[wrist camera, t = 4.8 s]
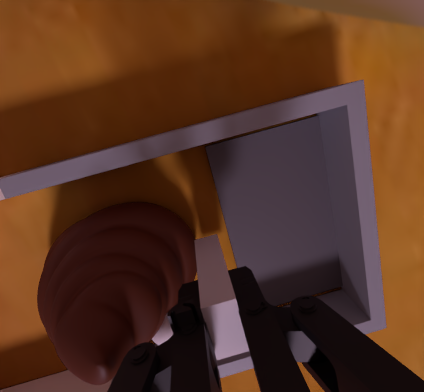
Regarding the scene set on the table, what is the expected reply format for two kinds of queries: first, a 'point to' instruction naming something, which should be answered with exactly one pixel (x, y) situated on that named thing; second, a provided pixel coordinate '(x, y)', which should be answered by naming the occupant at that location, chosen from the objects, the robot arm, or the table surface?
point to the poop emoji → (114, 285)
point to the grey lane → (277, 198)
